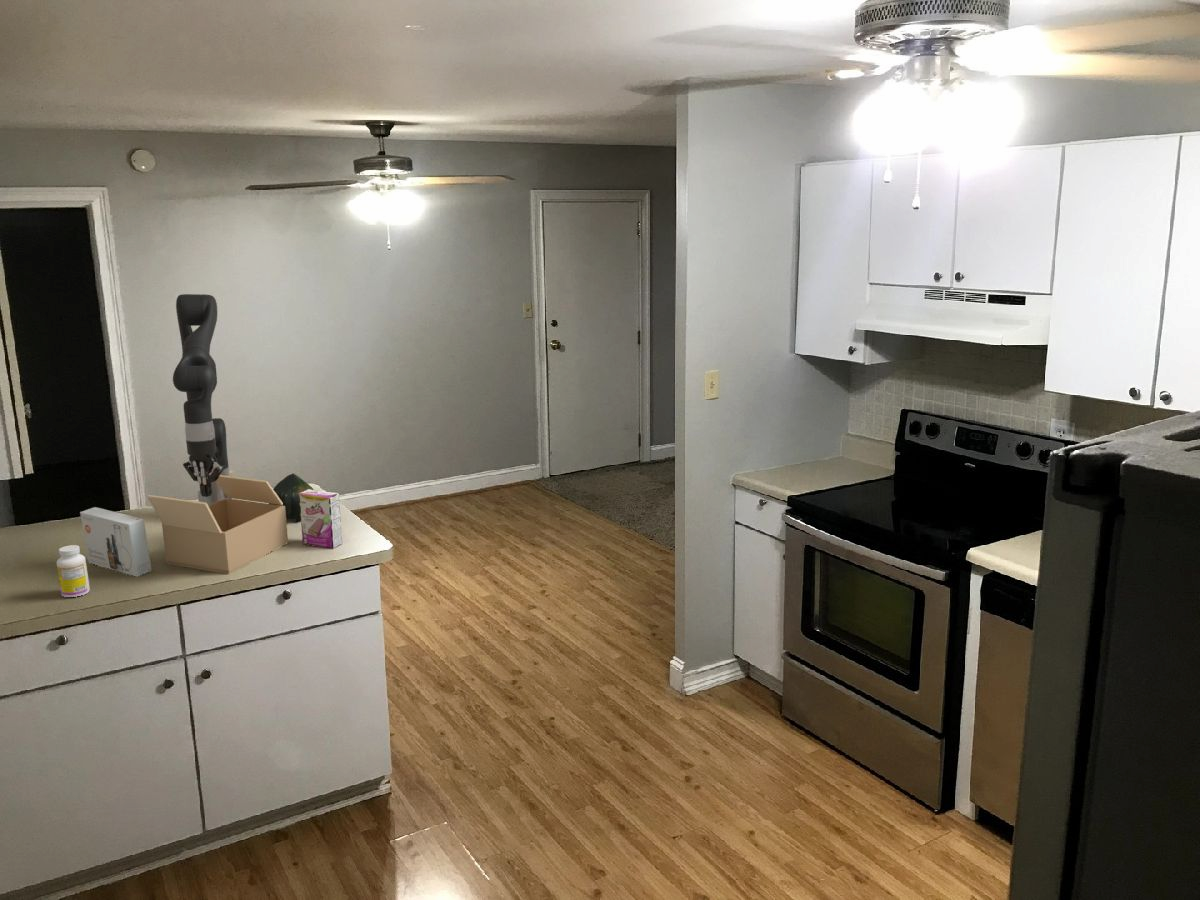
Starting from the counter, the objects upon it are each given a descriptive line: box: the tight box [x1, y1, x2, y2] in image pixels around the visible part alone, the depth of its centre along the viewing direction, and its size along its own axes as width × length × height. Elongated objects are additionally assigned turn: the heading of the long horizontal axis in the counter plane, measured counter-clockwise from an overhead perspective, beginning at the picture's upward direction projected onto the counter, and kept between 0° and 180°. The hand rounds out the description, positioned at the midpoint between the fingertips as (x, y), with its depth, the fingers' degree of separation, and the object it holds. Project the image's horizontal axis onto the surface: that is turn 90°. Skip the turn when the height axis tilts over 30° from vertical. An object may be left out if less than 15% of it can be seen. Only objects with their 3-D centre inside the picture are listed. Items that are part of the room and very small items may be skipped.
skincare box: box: [79, 506, 153, 577], centre depth 264 cm, size 21×6×16 cm, turn 62°
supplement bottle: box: [56, 544, 91, 598], centre depth 246 cm, size 7×7×13 cm
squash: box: [268, 473, 315, 522], centre depth 308 cm, size 14×15×15 cm
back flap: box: [216, 475, 283, 505], centre depth 282 cm, size 20×11×1 cm
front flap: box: [146, 494, 222, 534], centre depth 259 cm, size 20×11×1 cm
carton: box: [161, 498, 289, 575], centre depth 275 cm, size 22×26×12 cm
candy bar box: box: [299, 489, 343, 550], centre depth 282 cm, size 11×5×16 cm, turn 71°
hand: (206, 495), depth 267 cm, fingers closed
